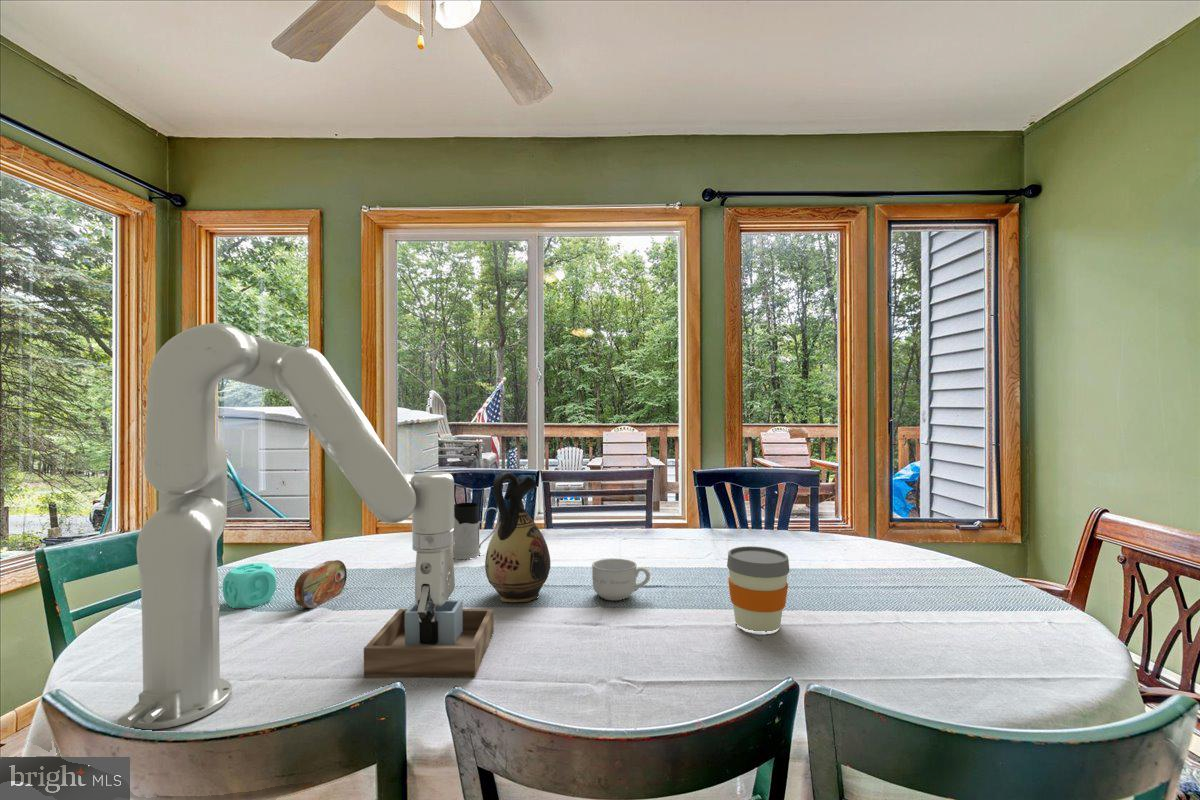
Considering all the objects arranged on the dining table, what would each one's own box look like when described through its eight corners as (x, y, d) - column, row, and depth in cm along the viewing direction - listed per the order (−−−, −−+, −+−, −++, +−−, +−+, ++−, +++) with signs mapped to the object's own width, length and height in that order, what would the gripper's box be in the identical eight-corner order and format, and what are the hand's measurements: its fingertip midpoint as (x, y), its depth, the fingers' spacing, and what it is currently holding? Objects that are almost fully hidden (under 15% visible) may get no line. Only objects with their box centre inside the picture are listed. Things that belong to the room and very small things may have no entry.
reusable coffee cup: (746, 642, 108) (746, 566, 107) (716, 617, 120) (716, 548, 119) (802, 635, 111) (802, 561, 111) (767, 611, 123) (767, 544, 123)
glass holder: (450, 552, 167) (450, 503, 167) (497, 548, 171) (497, 500, 171) (451, 561, 159) (451, 509, 158) (501, 556, 163) (501, 506, 163)
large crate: (474, 677, 94) (474, 648, 94) (363, 677, 94) (363, 648, 94) (493, 633, 111) (493, 608, 111) (399, 633, 111) (399, 608, 111)
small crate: (454, 645, 100) (454, 612, 100) (404, 645, 100) (404, 612, 100) (462, 630, 106) (462, 600, 106) (415, 631, 106) (415, 600, 106)
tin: (303, 614, 121) (303, 576, 121) (291, 613, 122) (291, 575, 122) (348, 589, 136) (347, 555, 136) (336, 589, 136) (336, 555, 136)
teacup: (583, 599, 130) (583, 565, 129) (604, 585, 139) (604, 553, 139) (638, 610, 123) (638, 575, 123) (656, 594, 133) (656, 561, 132)
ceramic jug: (519, 580, 142) (519, 464, 142) (563, 594, 133) (563, 470, 132) (465, 599, 129) (465, 472, 129) (509, 617, 120) (509, 479, 119)
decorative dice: (258, 593, 133) (258, 560, 133) (277, 600, 129) (276, 566, 129) (222, 604, 126) (221, 570, 126) (240, 612, 122) (240, 576, 122)
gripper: (440, 552, 94) (441, 657, 94) (464, 527, 111) (465, 615, 112) (396, 552, 94) (397, 657, 94) (427, 527, 111) (428, 616, 111)
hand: (434, 634), depth 103 cm, fingers closed on small crate, 6 cm apart
